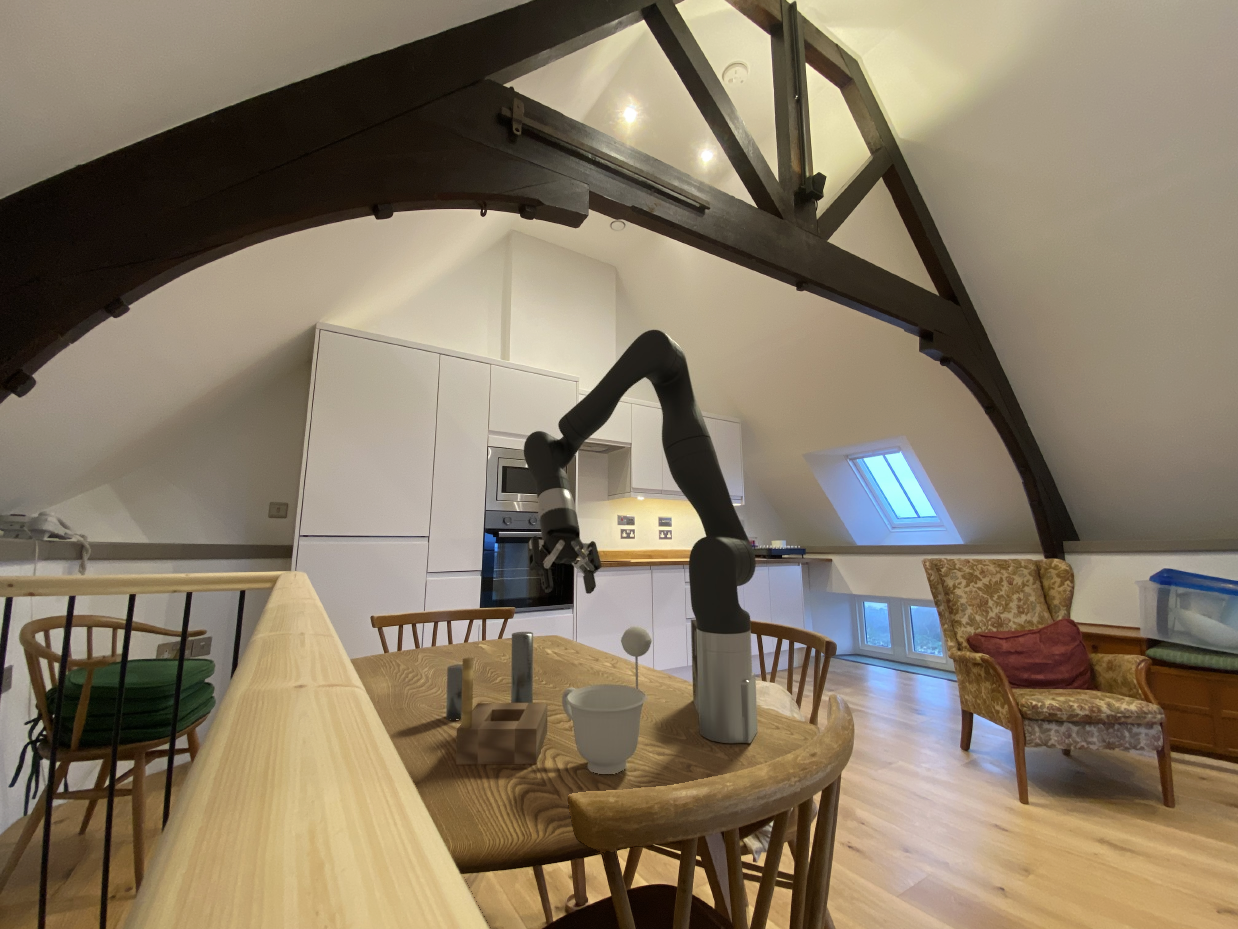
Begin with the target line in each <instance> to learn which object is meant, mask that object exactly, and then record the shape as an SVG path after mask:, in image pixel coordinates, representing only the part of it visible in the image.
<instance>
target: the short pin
mask: <svg viewBox="0 0 1238 929" xmlns="http://www.w3.org/2000/svg"><path fill="white" fill-rule="evenodd" d="M462 665H463V663H459V664H457V663H456V664H451V665H449V666H448V667H447V671H446V703H445V704H446V705H445V706H446V708H445V714H446V716H445V719H446V718H447V719H451V720H456V719H461V711H462ZM447 719H446V720H447ZM451 720H450V721H451Z"/></svg>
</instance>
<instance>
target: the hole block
mask: <svg viewBox="0 0 1238 929" xmlns="http://www.w3.org/2000/svg"><path fill="white" fill-rule="evenodd" d="M462 664H463V665H462V711H461V720H460V721H461V722H460V725H459V726H458V728H456V743H455V744H456V746H455V748H456V750H455V752H456V753H455V765H533V764H534V765H537V763H538V760H539V757H540V754H541V751H542V750H543V747H542V746H544V744H545V741H546V738H547V735H548V702H533V703H511V702H479V703H478V702H477V704H476V705H475V706H474V708H473V703H474V702H473V700H474V699H473V698H474V696H473V694H474V693H473V691H474V684H473V683H474V658H473V657H465V658H462ZM544 740H545V741H544ZM543 743H544V744H543Z"/></svg>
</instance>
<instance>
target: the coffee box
mask: <svg viewBox="0 0 1238 929" xmlns="http://www.w3.org/2000/svg"><path fill="white" fill-rule="evenodd" d="M690 637H691V638H690V639H691V644H690V646H691V668H692V669H691V670H692V671H691V672H692V674H691V675H692V676H691V677H692V700H693V701H692V702H693V704H694V706H695V709H696V711H697V714H698V715H699V702H698V664H697V624H696V619H690Z"/></svg>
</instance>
